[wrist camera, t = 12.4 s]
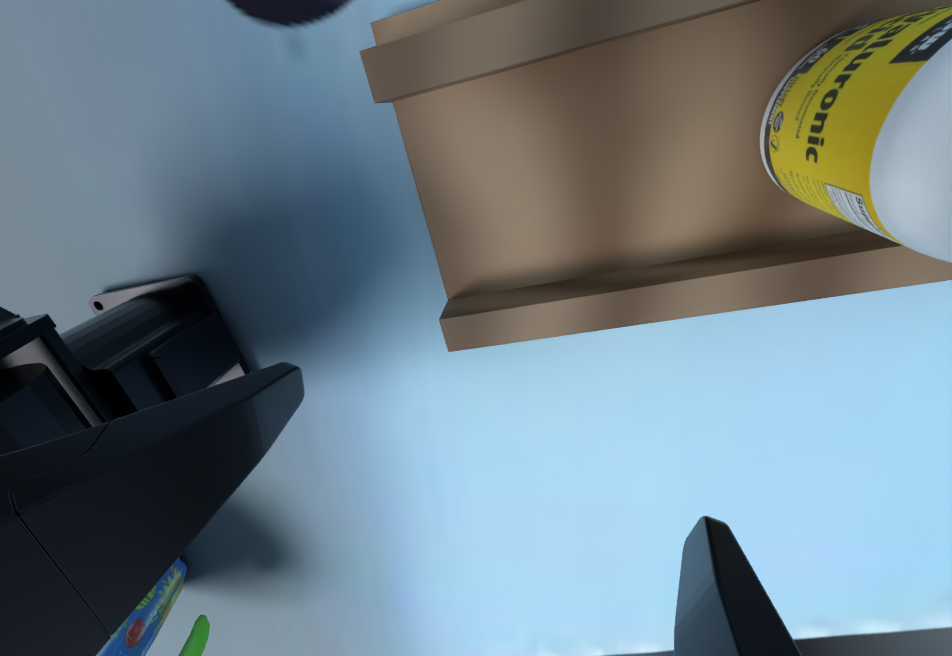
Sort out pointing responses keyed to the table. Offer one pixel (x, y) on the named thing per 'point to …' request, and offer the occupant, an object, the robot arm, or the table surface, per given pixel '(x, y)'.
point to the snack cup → (156, 620)
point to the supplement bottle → (871, 129)
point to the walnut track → (617, 161)
